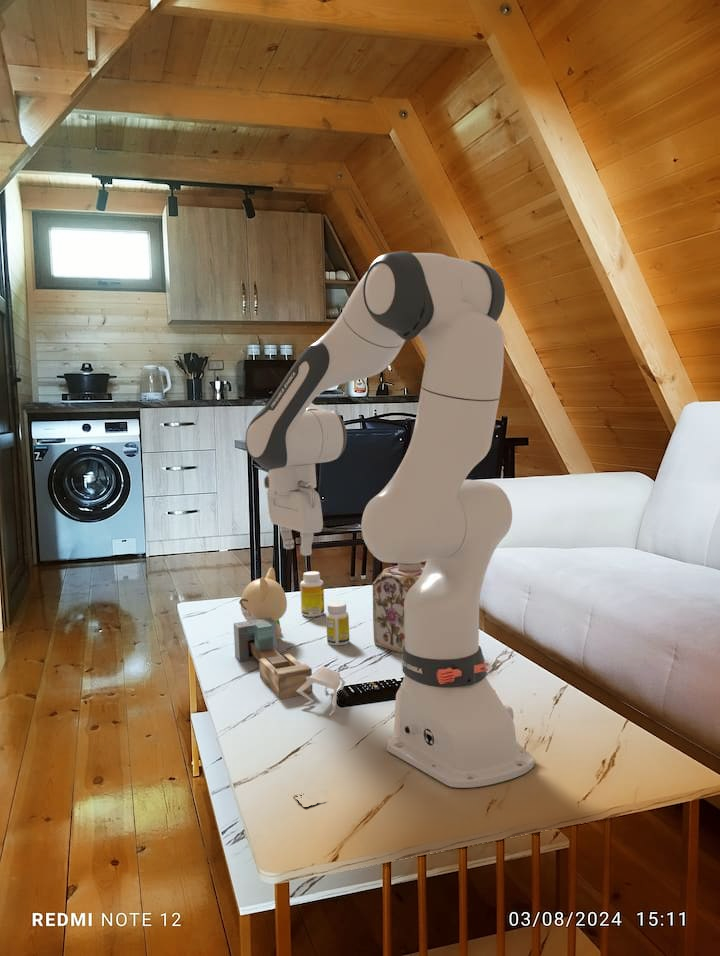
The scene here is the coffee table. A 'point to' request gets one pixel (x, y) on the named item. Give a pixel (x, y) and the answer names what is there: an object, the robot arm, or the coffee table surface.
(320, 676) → the origami figure
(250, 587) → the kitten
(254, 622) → the socket block
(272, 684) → the guide channel
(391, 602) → the decorative jar
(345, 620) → the supplement bottle
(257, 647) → the slide bar
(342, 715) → the coffee table surface
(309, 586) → the supplement bottle
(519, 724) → the coffee table surface
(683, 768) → the coffee table surface
